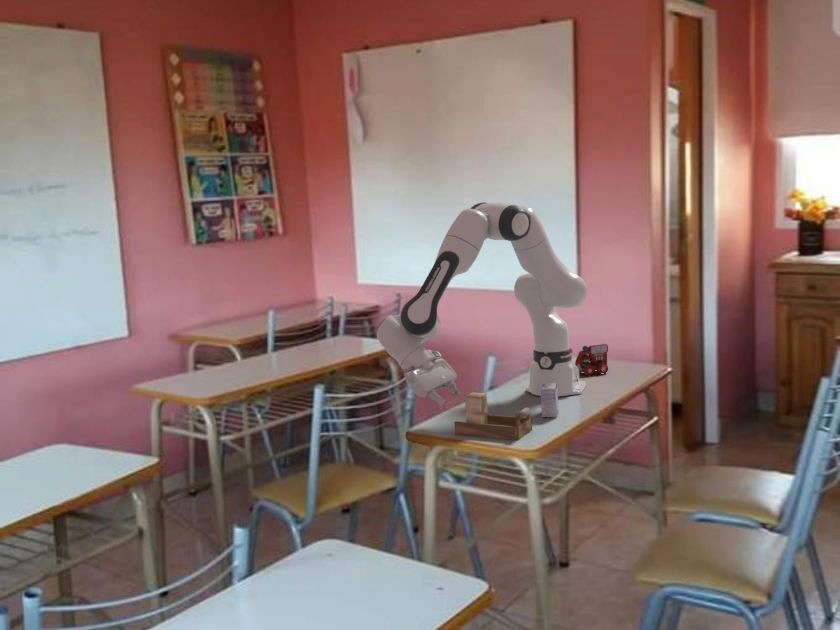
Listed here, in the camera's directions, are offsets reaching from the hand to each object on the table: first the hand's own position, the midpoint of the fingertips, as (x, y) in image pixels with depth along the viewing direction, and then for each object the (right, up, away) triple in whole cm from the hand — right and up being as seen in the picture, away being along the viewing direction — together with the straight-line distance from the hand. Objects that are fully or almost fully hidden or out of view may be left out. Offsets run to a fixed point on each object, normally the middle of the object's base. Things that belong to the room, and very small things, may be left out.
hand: (450, 399), depth 259 cm
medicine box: (+30, -6, +12) cm, 32 cm away
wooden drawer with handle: (+12, -9, -4) cm, 15 cm away
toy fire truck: (+52, +3, +65) cm, 83 cm away
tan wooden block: (+7, -8, -2) cm, 11 cm away
